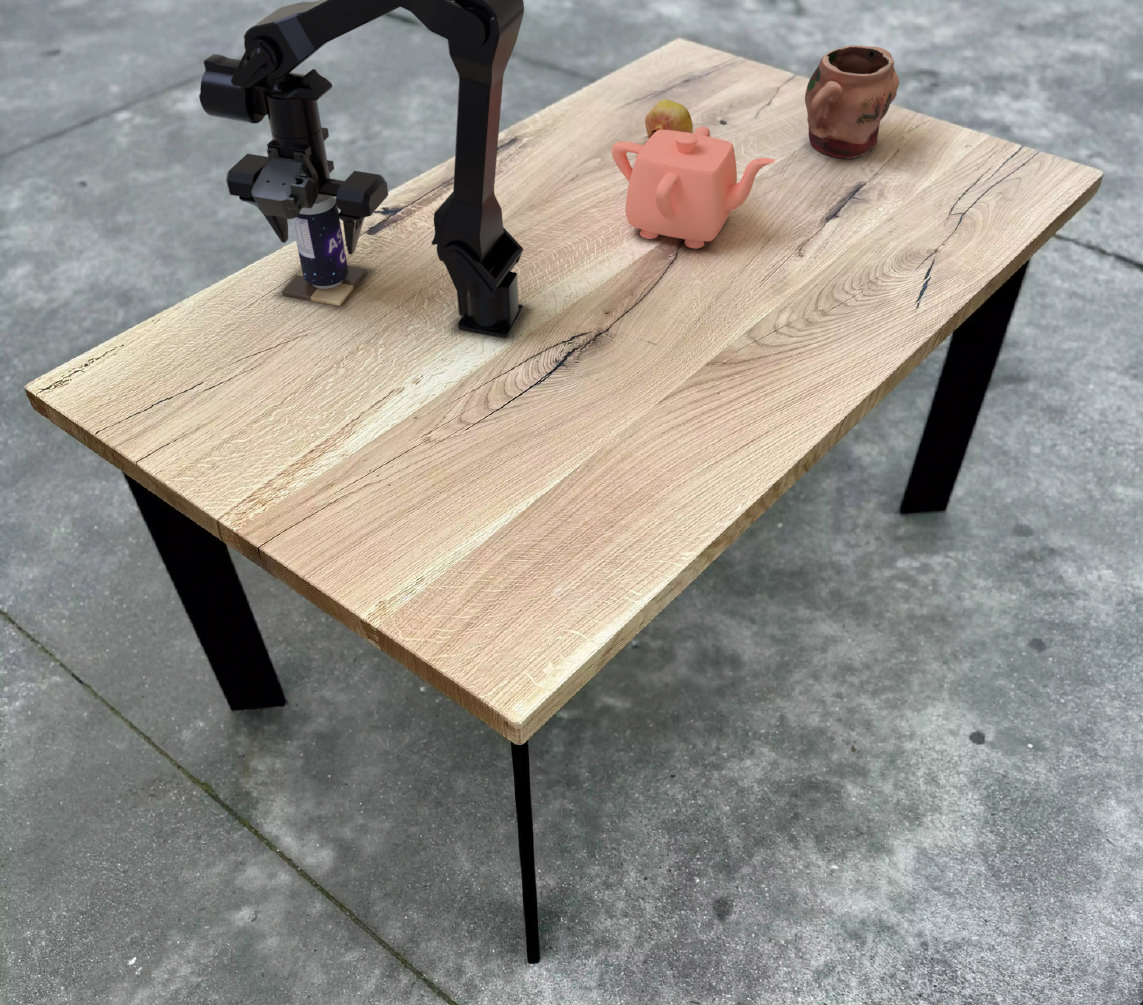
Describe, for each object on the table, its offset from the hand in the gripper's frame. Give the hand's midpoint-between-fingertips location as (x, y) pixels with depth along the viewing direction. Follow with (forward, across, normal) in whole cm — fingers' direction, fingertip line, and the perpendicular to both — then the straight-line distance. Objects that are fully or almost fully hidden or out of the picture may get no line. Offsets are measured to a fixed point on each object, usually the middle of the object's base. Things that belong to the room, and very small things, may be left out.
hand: (318, 247), depth 136 cm
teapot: (+6, +41, +27) cm, 49 cm away
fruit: (+6, +33, +50) cm, 60 cm away
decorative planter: (+6, +58, +56) cm, 81 cm away
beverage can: (+5, 0, 0) cm, 5 cm away
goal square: (+5, 0, 0) cm, 5 cm away
